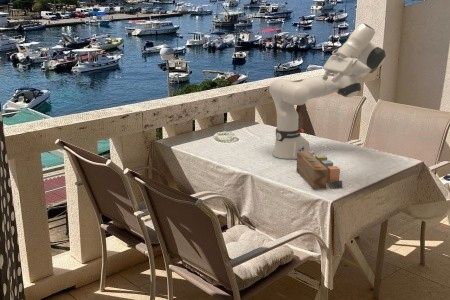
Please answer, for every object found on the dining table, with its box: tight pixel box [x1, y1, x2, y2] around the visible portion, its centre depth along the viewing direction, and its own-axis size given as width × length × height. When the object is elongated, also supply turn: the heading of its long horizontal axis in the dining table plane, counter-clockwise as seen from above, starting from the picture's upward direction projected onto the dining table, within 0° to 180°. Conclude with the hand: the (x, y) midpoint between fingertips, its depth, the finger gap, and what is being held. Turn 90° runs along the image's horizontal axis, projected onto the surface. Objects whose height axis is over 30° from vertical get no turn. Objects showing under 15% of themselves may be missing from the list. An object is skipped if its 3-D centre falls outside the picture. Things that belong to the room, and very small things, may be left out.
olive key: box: [314, 154, 328, 163], centre depth 275 cm, size 4×4×8 cm
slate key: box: [321, 159, 334, 168], centre depth 267 cm, size 4×4×8 cm
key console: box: [295, 152, 343, 190], centre depth 266 cm, size 13×26×9 cm, turn 10°
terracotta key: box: [327, 165, 341, 186], centre depth 259 cm, size 4×4×8 cm
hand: (328, 80), depth 254 cm, fingers open, 8 cm apart
